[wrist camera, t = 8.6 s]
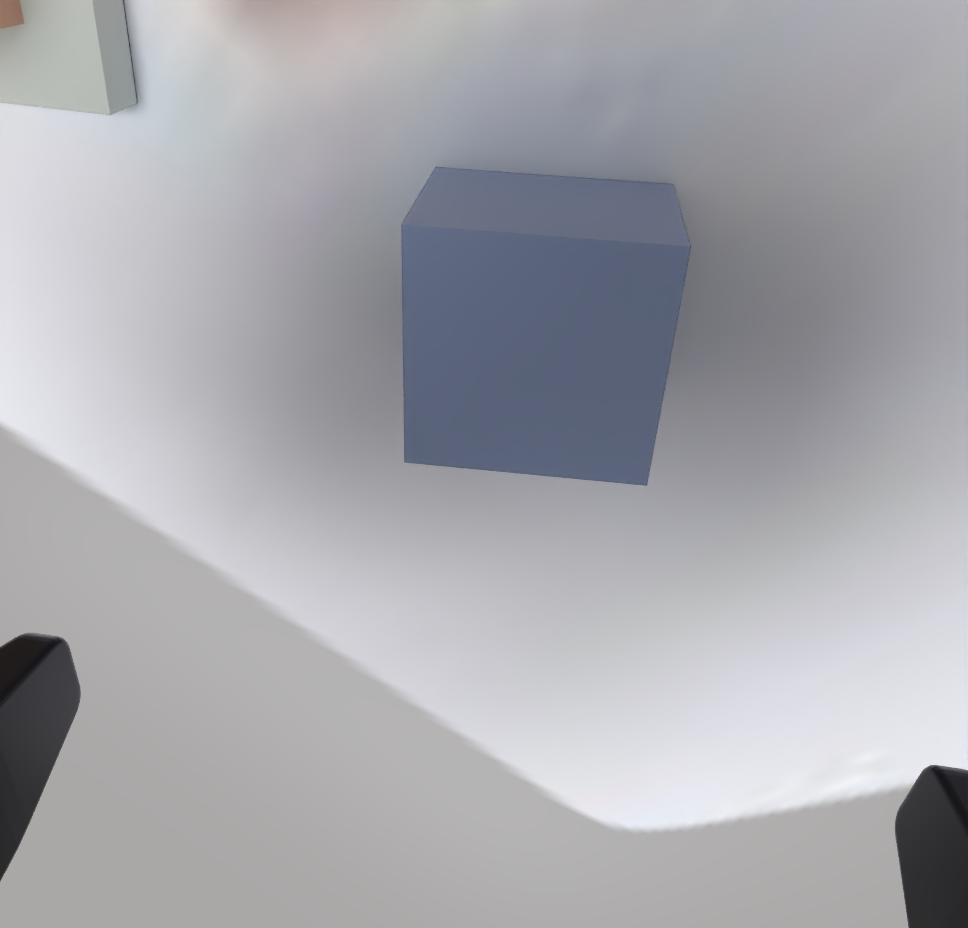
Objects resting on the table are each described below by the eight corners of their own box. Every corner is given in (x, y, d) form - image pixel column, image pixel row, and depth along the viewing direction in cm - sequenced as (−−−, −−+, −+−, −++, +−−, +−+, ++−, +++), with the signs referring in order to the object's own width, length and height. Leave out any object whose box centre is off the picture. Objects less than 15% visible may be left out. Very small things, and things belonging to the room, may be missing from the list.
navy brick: (672, 182, 18) (691, 246, 14) (637, 391, 20) (646, 485, 17) (436, 165, 18) (401, 224, 15) (434, 373, 21) (404, 462, 17)
